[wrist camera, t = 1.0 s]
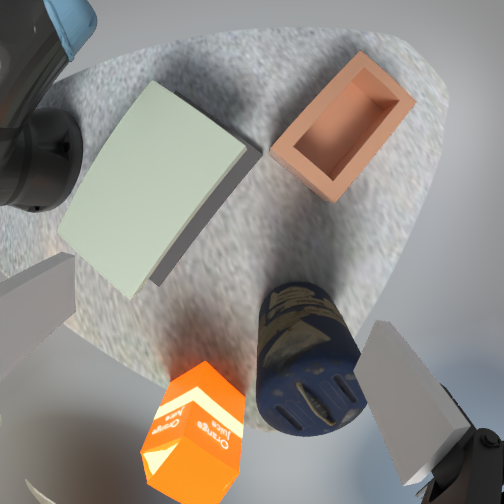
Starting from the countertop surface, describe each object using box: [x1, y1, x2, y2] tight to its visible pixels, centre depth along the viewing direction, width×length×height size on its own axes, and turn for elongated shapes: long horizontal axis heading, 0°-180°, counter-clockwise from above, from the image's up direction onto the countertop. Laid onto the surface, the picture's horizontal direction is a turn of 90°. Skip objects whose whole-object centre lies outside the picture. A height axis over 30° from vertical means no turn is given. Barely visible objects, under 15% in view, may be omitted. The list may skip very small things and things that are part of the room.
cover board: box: [57, 80, 247, 300], centre depth 25 cm, size 11×18×2 cm, turn 141°
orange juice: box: [141, 361, 245, 504], centre depth 29 cm, size 8×9×20 cm
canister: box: [256, 282, 367, 437], centre depth 27 cm, size 10×10×18 cm
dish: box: [269, 50, 416, 203], centre depth 28 cm, size 8×15×6 cm, turn 141°
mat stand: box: [149, 91, 263, 286], centre depth 30 cm, size 13×20×6 cm, turn 141°
